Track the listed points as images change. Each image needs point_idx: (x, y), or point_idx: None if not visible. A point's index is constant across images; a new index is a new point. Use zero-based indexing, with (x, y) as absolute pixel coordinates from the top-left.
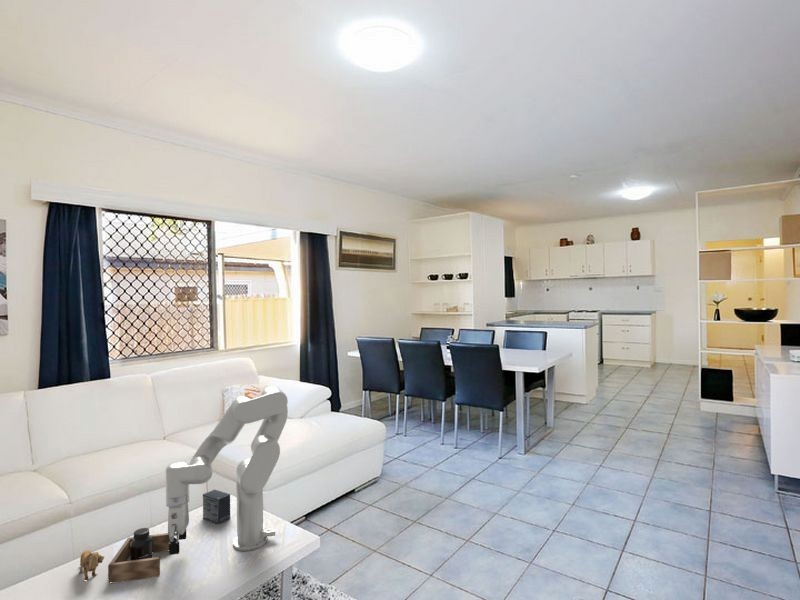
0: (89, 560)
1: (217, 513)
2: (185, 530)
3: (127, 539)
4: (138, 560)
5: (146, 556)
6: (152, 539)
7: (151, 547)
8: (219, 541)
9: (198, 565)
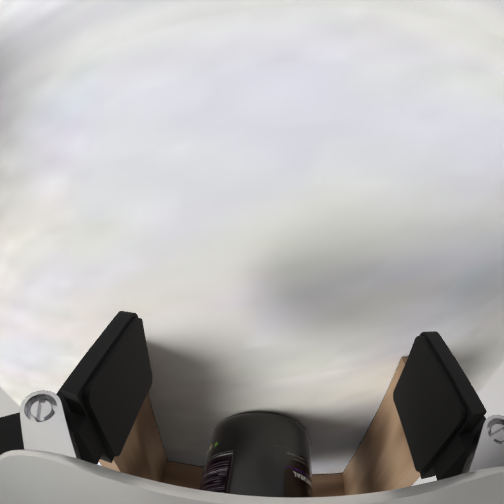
0: None
1: None
2: (94, 378)
3: None
4: None
5: (302, 471)
6: (130, 466)
7: (268, 492)
8: (90, 32)
9: (410, 131)
